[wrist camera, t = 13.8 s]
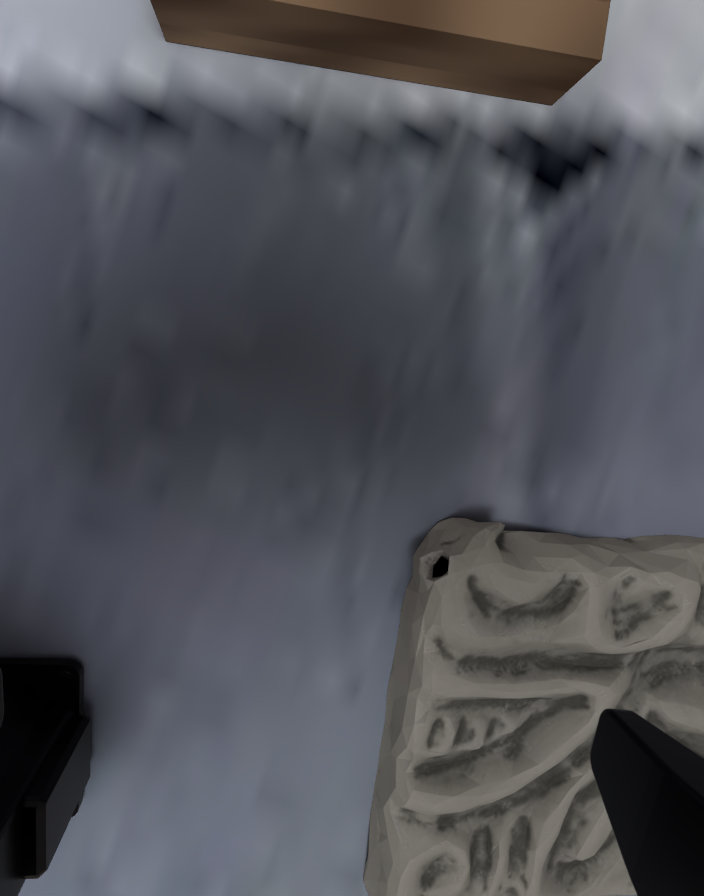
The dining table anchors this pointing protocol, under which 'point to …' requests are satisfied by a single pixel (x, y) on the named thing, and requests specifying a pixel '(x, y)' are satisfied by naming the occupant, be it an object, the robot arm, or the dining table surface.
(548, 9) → the walnut tray
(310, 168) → the dining table surface
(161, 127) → the dining table surface
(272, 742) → the dining table surface
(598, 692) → the wall plaque
